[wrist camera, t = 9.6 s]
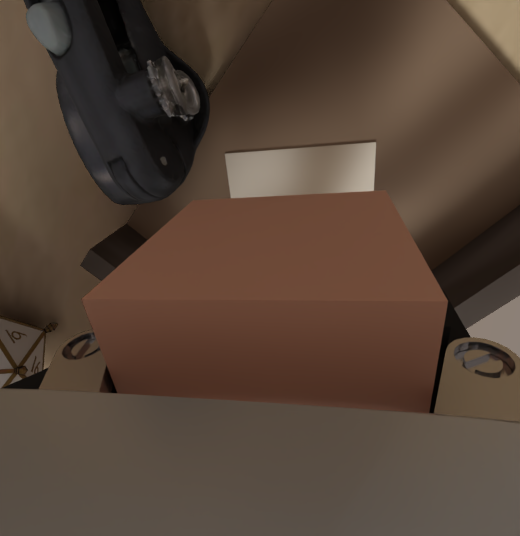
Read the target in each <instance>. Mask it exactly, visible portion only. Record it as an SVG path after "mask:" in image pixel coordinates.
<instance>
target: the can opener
mask: <svg viewBox="0 0 520 536" xmlns="http://www.w3.org/2000/svg"><path fill="white" fill-rule="evenodd" d="M24 2H25V5H26V7H27V9H28V11H27V13H26V20H27V24H28V26H29V28H30V30H31V31H32V33H33V34H34V36H35V37H36V38H37V39H38V41H39V42H40V43H41V44H42V45H43V46H44V47H45V48H46V49H47V51H48V53H49V55H50V57H51V59H52V61H53V63H54V65H55V67H56V69H57V74H56V77H57V78H56V86H57V87H56V88H57V93H58V99H59V103H60V107H61V110H62V113H63V117H64V121H65V123H66V126H67V129H68V131H69V134H70V136H71V138H72V140H73V143H74V145H75V147H76V149H77V151H78V154H79V156H80V158H81V159H82V161H83V163H84V165H85V167H86V168H87V170H88V171H89V173H90V175H91V176H92V178H93V179H94V181H95V182H96V184H97V185H98V186H99V188H100V189H101V190H102V191H103V193H105V194H106V195H107V196H108V197H109V198H110V199H111V200H112V201H113V202H115V203H117V204H121V205H132V204H144V203H151V202H155V201H160V200H162V199H165V198H167V197H169V196H170V195H171V194H172V193H173V192H175V191H176V189H177V188H178V187H179V186H181V185H182V183H183V182H184V181H185V179H186V177H187V175H188V174H189V172H190V170H191V167H192V165H193V161H194V156H195V153H196V150H197V148H198V146H199V144H200V142H201V140H202V138H203V136H204V134H205V131H206V128H207V125H208V121H209V115H210V102H209V96H208V93H207V90H206V88H205V85H204V83H203V82H202V80H201V79H200V77H199V76H198V74H197V73H196V72H195V71H194V70H193V69H191V68H190V67H189V66H188V65H187V64H186V63H185V62H184V61H182V60H181V59H180V58H178V57H177V56H176V55H175V54H174V53H173V52H171V51H170V50H169V49H168V48H167V47H166V46H165V45H164V44H163V43H162V41H161V40H160V38H159V36H158V34H157V33H156V31H155V29H154V27H153V25H152V23H151V21H150V19H149V17H148V15H147V14H146V11H145V9H144V7H143V5H142V3H141V1H140V0H24Z"/></svg>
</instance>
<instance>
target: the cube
mask: <svg viewBox="0 0 520 536" xmlns="http://www.w3.org/2000/svg"><path fill="white" fill-rule="evenodd" d="M81 300H82V303H83V305H84V308H85V311H86V313H87V316H88V318H89V321H90V324H91V326H92V329H93V331H94V334H95V336H96V339H97V342H98V344H99V347H100V349H101V352H102V355H103V357H104V360H105V362H106V365H107V367H108V370H109V373H110V375H111V378H112V380H113V383H114V386H115V388H116V391H117V393H119V394H136V395H152V396H168V397H184V398H201V399H218V400H234V401H249V402H265V403H281V404H297V405H314V406H329V407H344V408H359V409H374V410H389V411H404V412H419V413H429V410H430V405H431V399H432V393H433V387H434V381H435V375H436V369H437V363H438V358H439V352H440V346H441V340H442V334H443V328H444V322H445V317H446V311H447V305H448V300H447V298H446V297H445V295H444V293H443V291H442V290H441V288H440V286H439V284H438V282H437V281H436V279H435V277H434V275H433V274H432V272H431V270H430V268H429V266H428V265H427V263H426V261H425V259H424V257H423V256H422V254H421V252H420V250H419V249H418V247H417V245H416V243H415V241H414V240H413V238H412V236H411V234H410V233H409V231H408V229H407V227H406V225H405V224H404V222H403V220H402V218H401V217H400V215H399V213H398V211H397V209H396V208H395V206H394V204H393V202H392V201H391V199H390V197H389V195H388V193H387V192H386V190H382V191H363V192H344V193H324V194H305V195H285V196H266V197H247V198H227V199H208V200H193V201H191V202H190V203H189V204H188V205H187V206H186V207H185V208H184V209H182V210H181V211H180V212H179V213H178V214H177V215H176V216H175V217H173V218H172V219H171V220H170V221H169V222H168V223H167V224H166V225H164V226H163V227H162V228H161V229H160V230H159V231H158V232H156V233H155V234H154V235H153V236H152V237H151V238H150V239H149V240H147V241H146V242H145V243H144V244H143V245H142V246H141V247H140V248H138V249H137V250H136V251H135V252H134V253H133V254H132V255H131V256H129V257H128V258H127V259H126V260H125V261H124V262H123V263H121V264H120V265H119V266H118V267H117V268H116V269H115V270H114V271H112V272H111V273H110V274H109V275H108V276H107V277H106V278H105V279H103V280H102V281H101V282H100V283H99V284H98V285H97V286H96V287H94V288H93V289H92V290H91V291H90V292H89V293H88V294H86V295H85V296H84V297H83V298H82V299H81Z"/></svg>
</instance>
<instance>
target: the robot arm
mask: <svg viewBox="0 0 520 536" xmlns="http://www.w3.org/2000/svg"><path fill="white" fill-rule="evenodd" d="M441 290H442V291H443V293H444V295H445V297H446V298H447V300H448V305H447V311H446V317H445V322H444V328H443V334H442V340H441V346H440V352H439V358H438V363H437V369H436V375H435V381H434V387H433V393H432V399H431V405H430V410H429V413H419V412H404V411H389V410H374V409H359V408H344V407H329V406H314V405H297V404H281V403H265V402H249V401H234V400H218V399H201V398H184V397H168V396H152V395H136V394H119V393H117V391H116V388H115V386H114V383H113V380H112V378H111V375H110V373H109V370H108V367H107V365H106V362H105V360H104V357H103V355H102V352H101V349H100V347H99V344H98V342H97V339H96V336H95V334H94V331H93V329H92V330H88V331H84V332H81V333H79V334H77V335H74V336H73V337H71V338H69V339H68V340H66V341H65V342H64V343H63V344H62V345H61V346H60V347H59V348H58V350H57V351H56V354H55V356H54V358H53V360H52V362H51V364H50V366H49V368H47V369H45V370H42V371H40V372H38V373H35V374H33V375H31V376H28V377H26V378H24V379H21V380H19V381H17V382H14V383H12V384H10V385H7V386H5V387H3V388H0V536H520V358H519V357H518V356H517V355H516V354H515V353H513V352H512V351H511V350H509V349H508V348H507V347H505V346H503V345H500V344H498V343H496V342H493V341H490V340H486V339H481V338H474V337H473V338H471V337H470V335H469V334H468V332H467V330H466V328H465V327H464V325H463V323H462V321H461V320H460V318H459V316H458V314H457V313H456V311H455V309H454V307H453V305H452V304H451V302H450V300H449V298H448V297H447V295H446V293H445V292H444V290H443V289H441Z"/></svg>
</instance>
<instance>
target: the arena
mask: <svg viewBox="0 0 520 536" xmlns="http://www.w3.org/2000/svg"><path fill="white" fill-rule="evenodd" d="M209 102H210V115H209V121H208V125H207V128H206V131H205V134H204V136H203V138H202V140H201V142H200V144H199V146H198V148H197V150H196V153H195V156H194V161H193V165H192V167H191V170H190V172H189V174H188V175H187V177H186V179H185V181H184V182H183V183H182V185H181V186H179V187H178V188H177V189H176V191H175V192H173V193H172V194H171V195H170V196H169V197H167V198H165V199H162V200H160V201H155V202H151V203H144V204H139V205H138V207H137V209H136V210H135V212H134V213H133V215H132V216H131V218H130V219H129V221H128V222H127V224H125V225H124V226H123V227H121V228H120V229H118V230H117V231H115V232H114V233H113V234H111V235H110V236H108V237H107V238H105V239H104V240H103V241H101V242H100V243H98V244H97V245H96V246H94V247H93V248H91V249H90V250H89V252H88V254H87V255H86V257H85V258H84V260H83V262H82V263H81V265H80V266H82V267H83V268H84V269H86V270H87V271H88V272H90V273H91V274H93V275H94V276H95V277H97V278H98V279H99V280H101V281H102V280H103V279H105V278H106V277H107V276H108V275H109V274H110V273H111V272H112V271H114V270H115V269H116V268H117V267H118V266H119V265H120V264H121V263H123V262H124V261H125V260H126V259H127V258H128V257H129V256H131V255H132V254H133V253H134V252H135V251H136V250H137V249H138V248H140V247H141V246H142V245H143V244H144V243H145V242H146V241H147V240H149V239H150V238H151V237H152V236H153V235H154V234H155V233H156V232H158V231H159V230H160V229H161V228H162V227H163V226H164V225H166V224H167V223H168V222H169V221H170V220H171V219H172V218H173V217H175V216H176V215H177V214H178V213H179V212H180V211H181V210H182V209H184V208H185V207H186V206H187V205H188V204H189V203H190V202H191V201H193V200H208V199H227V198H247V197H266V196H285V195H305V194H324V193H344V192H363V191H382V190H386V192H387V193H388V195H389V197H390V199H391V201H392V202H393V204H394V206H395V208H396V209H397V211H398V213H399V215H400V217H401V218H402V220H403V222H404V224H405V225H406V227H407V229H408V231H409V233H410V234H411V236H412V238H413V240H414V241H415V243H416V245H417V247H418V249H419V250H420V252H421V254H422V256H423V257H424V259H425V261H426V263H427V265H428V266H429V268H430V270H431V272H432V274H433V275H434V277H435V279H436V281H437V282H438V284H439V286H440V288H441V289H443V290H444V292H445V293H446V295H447V297H448V298H449V300H450V302H451V304H452V305H453V307H454V309H455V311H456V313H457V314H458V316H459V318H460V320H461V321H462V323H463V325H464V327H465V328H466V329H467V328H468V327H470V326H471V325H473V324H475V323H476V322H478V321H479V320H481V319H482V318H484V317H486V316H487V315H489V314H490V313H492V312H494V311H495V310H497V309H498V308H500V307H502V306H503V305H505V304H507V303H508V302H510V301H511V300H513V299H515V298H516V297H518V296H519V295H520V84H519V83H518V81H517V80H516V79H515V78H514V77H513V76H512V75H511V73H510V72H509V71H508V70H507V69H506V68H505V67H504V65H503V64H502V63H501V62H500V61H499V60H498V59H497V57H496V56H495V55H494V54H493V53H492V52H491V51H490V49H489V48H488V47H487V46H486V45H485V44H484V43H483V41H482V40H481V39H480V38H479V37H478V36H477V35H476V34H475V32H474V31H473V30H472V29H471V28H470V27H469V26H468V24H467V23H466V22H465V21H464V20H463V19H462V18H461V16H460V15H459V14H458V13H457V12H456V11H455V10H454V8H453V7H452V6H451V5H450V4H449V3H448V2H447V0H272V2H271V3H270V5H269V6H268V8H267V9H266V11H265V13H264V14H263V16H262V17H261V19H260V20H259V22H258V23H257V25H256V26H255V28H254V29H253V31H252V32H251V34H250V36H249V37H248V39H247V40H246V42H245V43H244V45H243V46H242V48H241V49H240V51H239V52H238V54H237V55H236V57H235V58H234V60H233V62H232V63H231V65H230V66H229V68H228V69H227V71H226V72H225V74H224V75H223V77H222V78H221V80H220V81H219V83H218V85H217V86H216V88H215V89H214V91H213V92H212V94H211V95H210V97H209Z"/></svg>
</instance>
